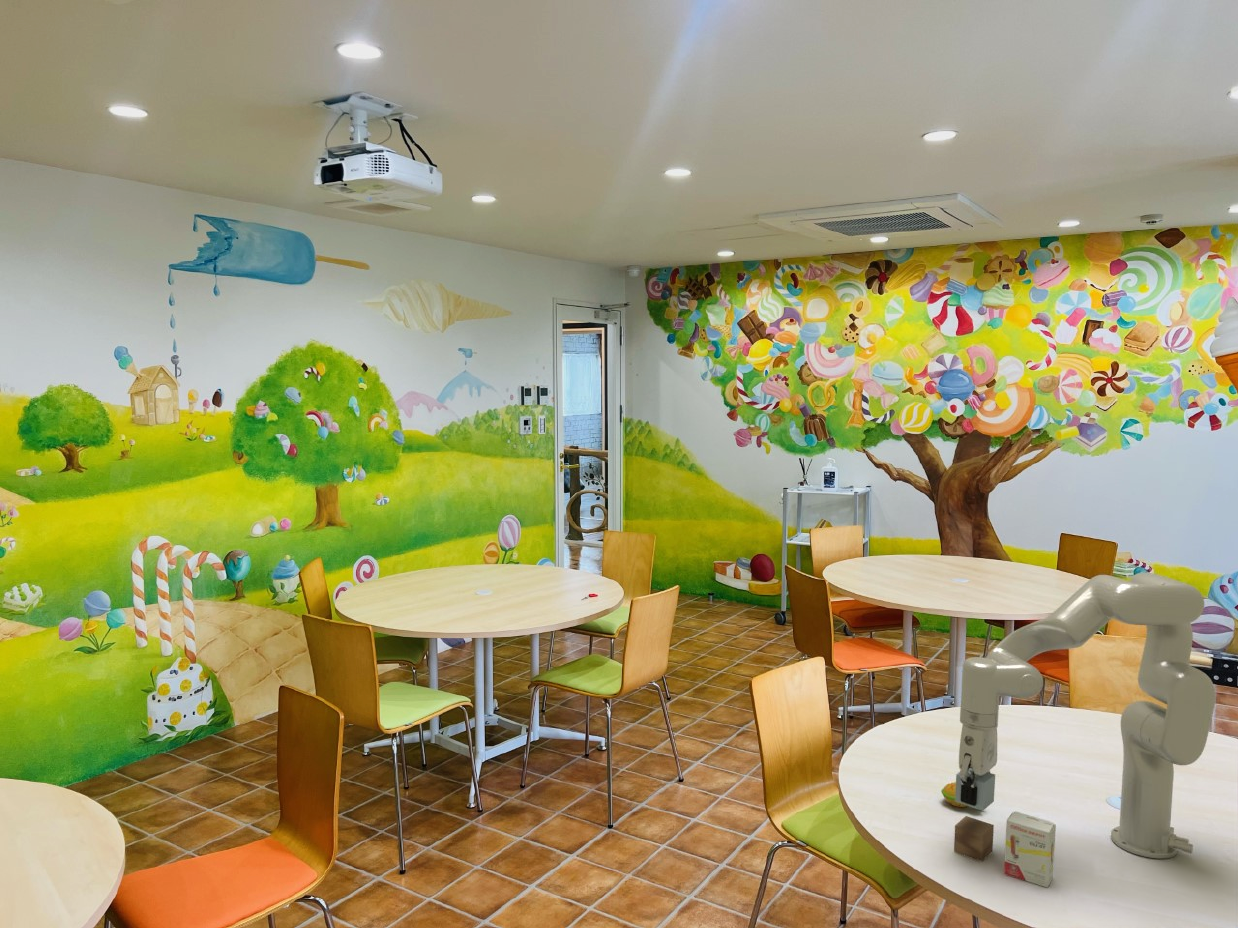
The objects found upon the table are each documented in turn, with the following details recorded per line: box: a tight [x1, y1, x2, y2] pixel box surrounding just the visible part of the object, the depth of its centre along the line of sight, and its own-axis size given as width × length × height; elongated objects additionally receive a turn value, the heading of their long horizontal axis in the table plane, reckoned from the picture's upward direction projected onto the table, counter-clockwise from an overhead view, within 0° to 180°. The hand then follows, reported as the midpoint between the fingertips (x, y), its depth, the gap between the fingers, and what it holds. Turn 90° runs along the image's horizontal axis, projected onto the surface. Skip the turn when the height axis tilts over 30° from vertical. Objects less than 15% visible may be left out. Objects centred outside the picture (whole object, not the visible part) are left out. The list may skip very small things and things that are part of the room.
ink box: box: [1003, 811, 1057, 888], centre depth 182 cm, size 9×5×12 cm, turn 52°
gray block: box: [955, 768, 996, 811], centre depth 191 cm, size 6×6×6 cm
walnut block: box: [953, 815, 995, 863], centre depth 192 cm, size 6×6×6 cm
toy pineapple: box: [940, 781, 968, 808], centre depth 213 cm, size 7×10×5 cm
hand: (974, 797), depth 191 cm, fingers closed on gray block, 6 cm apart
